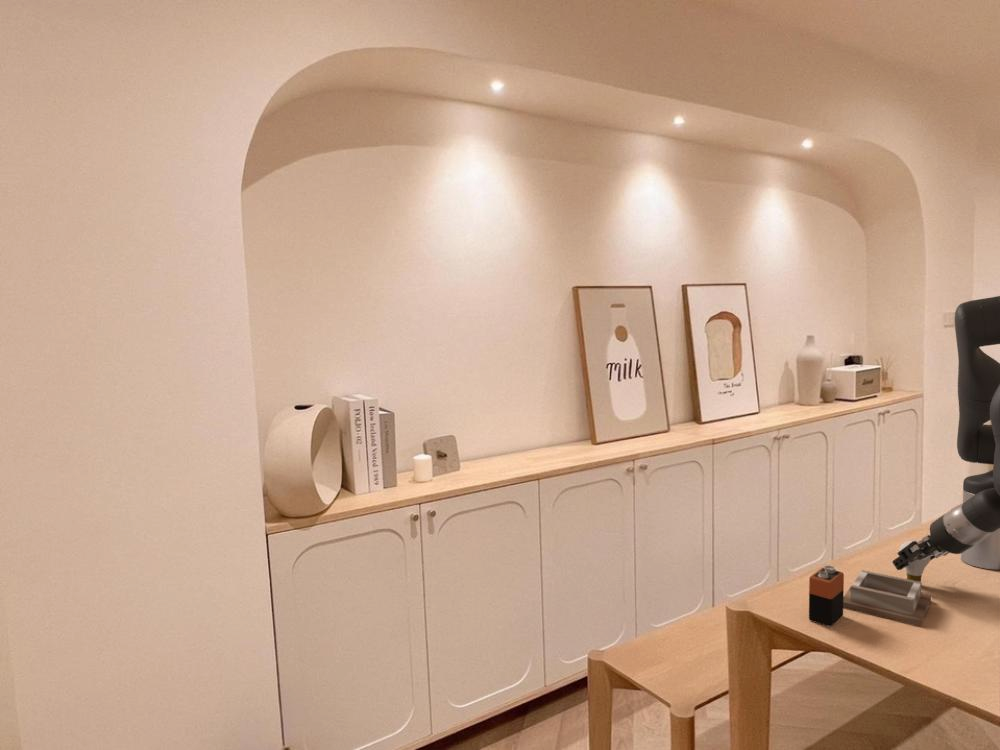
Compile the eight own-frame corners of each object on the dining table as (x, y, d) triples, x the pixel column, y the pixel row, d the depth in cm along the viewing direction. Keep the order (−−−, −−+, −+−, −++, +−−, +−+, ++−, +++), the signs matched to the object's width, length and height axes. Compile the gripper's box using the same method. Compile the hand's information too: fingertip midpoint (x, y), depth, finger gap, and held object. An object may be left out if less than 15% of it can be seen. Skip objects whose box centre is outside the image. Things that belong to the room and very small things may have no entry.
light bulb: (919, 592, 138) (921, 547, 137) (892, 583, 143) (893, 539, 142) (935, 586, 140) (936, 542, 140) (908, 577, 146) (909, 534, 145)
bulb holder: (855, 584, 143) (856, 566, 143) (930, 600, 134) (931, 581, 133) (840, 606, 132) (840, 587, 132) (920, 626, 123) (921, 605, 123)
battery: (844, 616, 128) (844, 567, 128) (831, 627, 124) (831, 577, 123) (821, 609, 132) (821, 562, 131) (807, 620, 127) (808, 571, 126)
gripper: (973, 507, 135) (919, 543, 148) (924, 515, 131) (872, 552, 143) (999, 539, 131) (941, 574, 143) (949, 549, 126) (893, 584, 138)
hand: (907, 563), depth 143 cm, fingers open, 6 cm apart
